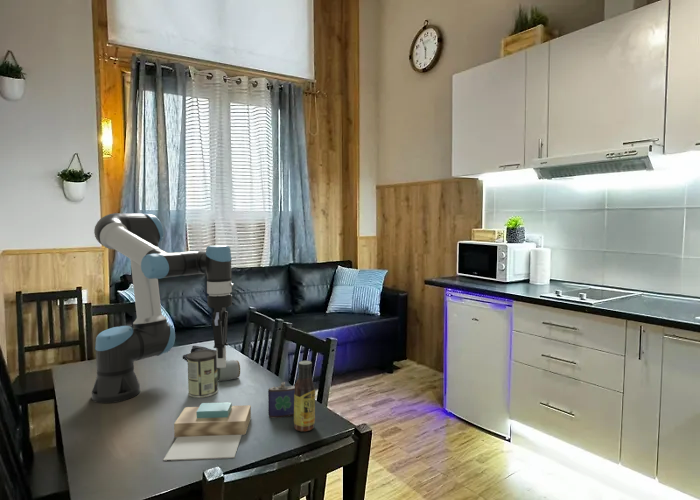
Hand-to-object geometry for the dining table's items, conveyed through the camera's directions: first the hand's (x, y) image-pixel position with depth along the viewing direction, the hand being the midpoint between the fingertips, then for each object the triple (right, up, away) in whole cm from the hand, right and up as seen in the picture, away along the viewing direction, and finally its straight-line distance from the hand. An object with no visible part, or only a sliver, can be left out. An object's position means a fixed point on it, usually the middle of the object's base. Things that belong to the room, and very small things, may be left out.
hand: (221, 366), depth 142 cm
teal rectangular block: (+1, -12, -9) cm, 15 cm away
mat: (+2, -16, -21) cm, 27 cm away
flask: (+20, -15, -1) cm, 25 cm away
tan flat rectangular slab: (+1, -16, -9) cm, 18 cm away
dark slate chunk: (-23, -12, +54) cm, 60 cm away
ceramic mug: (-7, -13, +31) cm, 35 cm away
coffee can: (-12, -14, +17) cm, 25 cm away
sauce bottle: (+28, -16, -9) cm, 33 cm away
